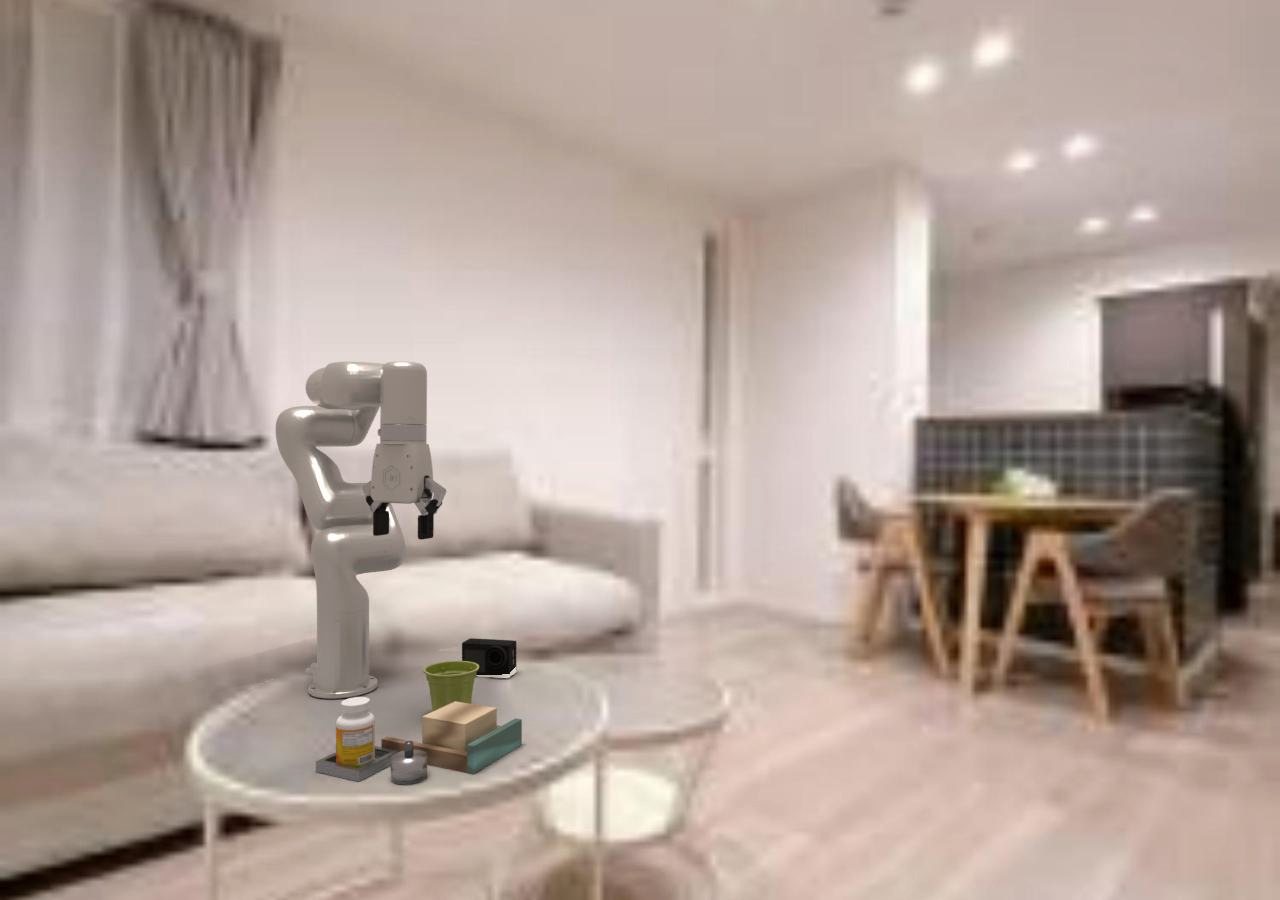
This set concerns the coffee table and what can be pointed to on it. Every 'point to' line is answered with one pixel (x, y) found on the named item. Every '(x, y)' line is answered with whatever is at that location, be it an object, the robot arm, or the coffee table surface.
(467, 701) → the plant pot
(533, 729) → the coffee table surface
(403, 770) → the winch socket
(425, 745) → the bay
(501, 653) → the digital camera
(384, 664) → the coffee table surface
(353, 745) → the supplement bottle
